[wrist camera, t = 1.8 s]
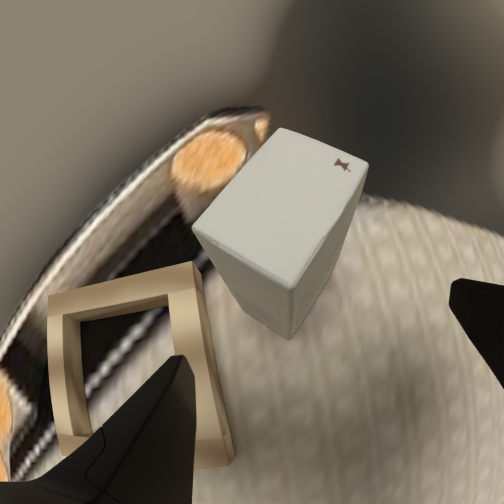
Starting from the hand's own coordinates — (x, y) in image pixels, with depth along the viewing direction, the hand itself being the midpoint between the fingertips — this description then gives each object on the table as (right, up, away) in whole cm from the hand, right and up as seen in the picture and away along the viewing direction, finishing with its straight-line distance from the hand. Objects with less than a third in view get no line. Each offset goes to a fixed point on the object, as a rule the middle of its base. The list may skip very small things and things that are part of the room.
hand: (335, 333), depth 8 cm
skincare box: (0, -1, +13) cm, 13 cm away
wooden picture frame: (-12, -7, +11) cm, 17 cm away
